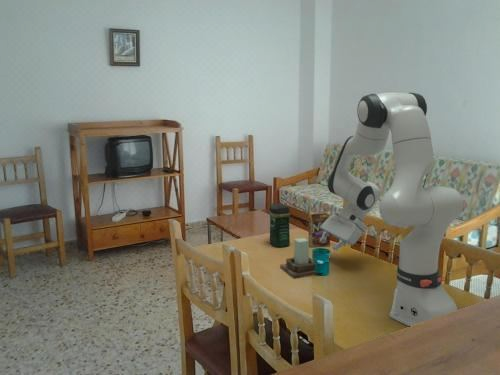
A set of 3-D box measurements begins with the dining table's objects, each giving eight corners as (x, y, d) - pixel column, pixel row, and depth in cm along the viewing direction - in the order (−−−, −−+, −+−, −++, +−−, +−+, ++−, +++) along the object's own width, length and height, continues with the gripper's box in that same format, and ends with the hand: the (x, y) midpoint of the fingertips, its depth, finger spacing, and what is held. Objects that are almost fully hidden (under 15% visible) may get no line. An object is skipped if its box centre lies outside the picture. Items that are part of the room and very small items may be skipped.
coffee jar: (292, 246, 211) (292, 205, 207) (276, 248, 208) (275, 207, 205) (283, 240, 220) (283, 200, 216) (267, 242, 217) (266, 202, 213)
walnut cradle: (322, 273, 179) (323, 264, 179) (294, 278, 175) (294, 269, 174) (307, 263, 190) (307, 254, 190) (280, 267, 186) (280, 258, 185)
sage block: (308, 268, 181) (308, 240, 179) (299, 270, 180) (299, 242, 178) (303, 265, 185) (303, 237, 183) (294, 266, 184) (294, 239, 181)
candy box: (310, 247, 209) (310, 214, 206) (308, 244, 213) (308, 211, 210) (330, 246, 210) (330, 212, 207) (327, 243, 214) (327, 210, 211)
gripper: (331, 207, 195) (309, 233, 193) (360, 219, 176) (336, 248, 175) (340, 216, 198) (319, 242, 196) (369, 229, 179) (346, 258, 177)
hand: (327, 245), depth 185 cm, fingers open, 8 cm apart
